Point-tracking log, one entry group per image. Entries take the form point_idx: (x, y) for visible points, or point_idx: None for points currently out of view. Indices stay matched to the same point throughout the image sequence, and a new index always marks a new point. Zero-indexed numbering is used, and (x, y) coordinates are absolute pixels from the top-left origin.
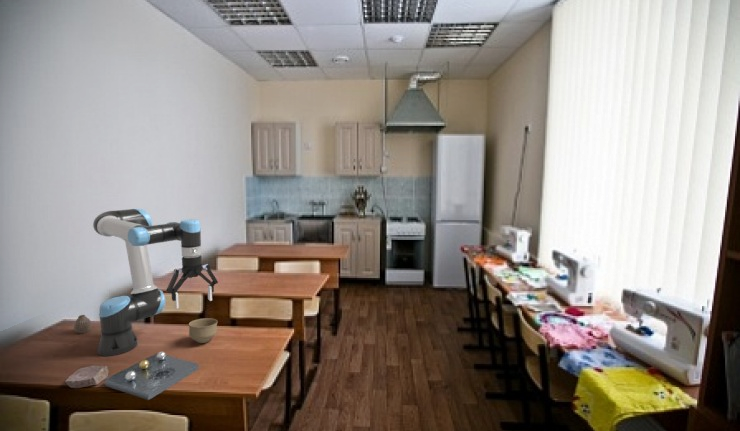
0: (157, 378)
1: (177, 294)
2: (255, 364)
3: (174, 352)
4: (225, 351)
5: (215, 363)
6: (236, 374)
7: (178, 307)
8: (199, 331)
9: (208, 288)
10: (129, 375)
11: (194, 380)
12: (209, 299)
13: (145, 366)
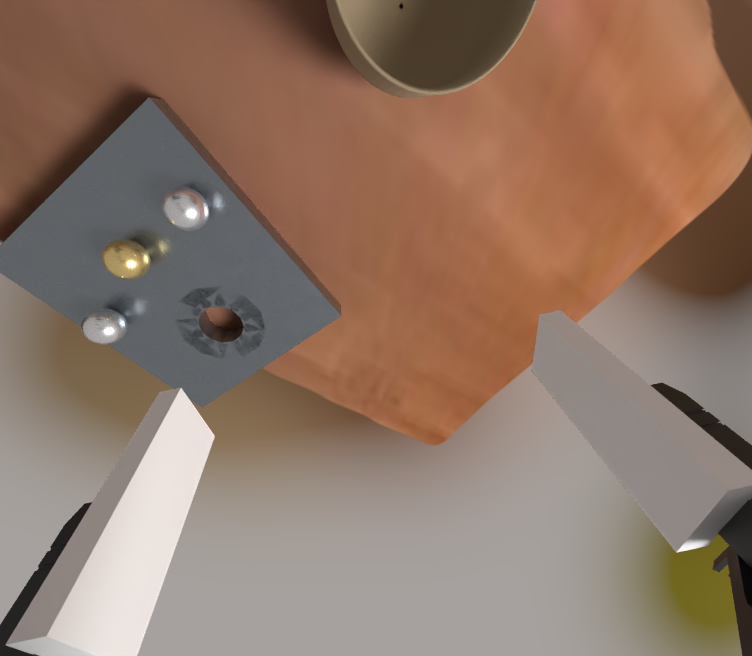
0: (211, 346)
1: (133, 645)
2: (491, 358)
3: (242, 71)
4: (455, 220)
5: (397, 295)
6: (429, 380)
7: (209, 444)
8: (386, 81)
9: (655, 465)
10: (101, 343)
11: (323, 360)
12: (539, 358)
13: (139, 277)
